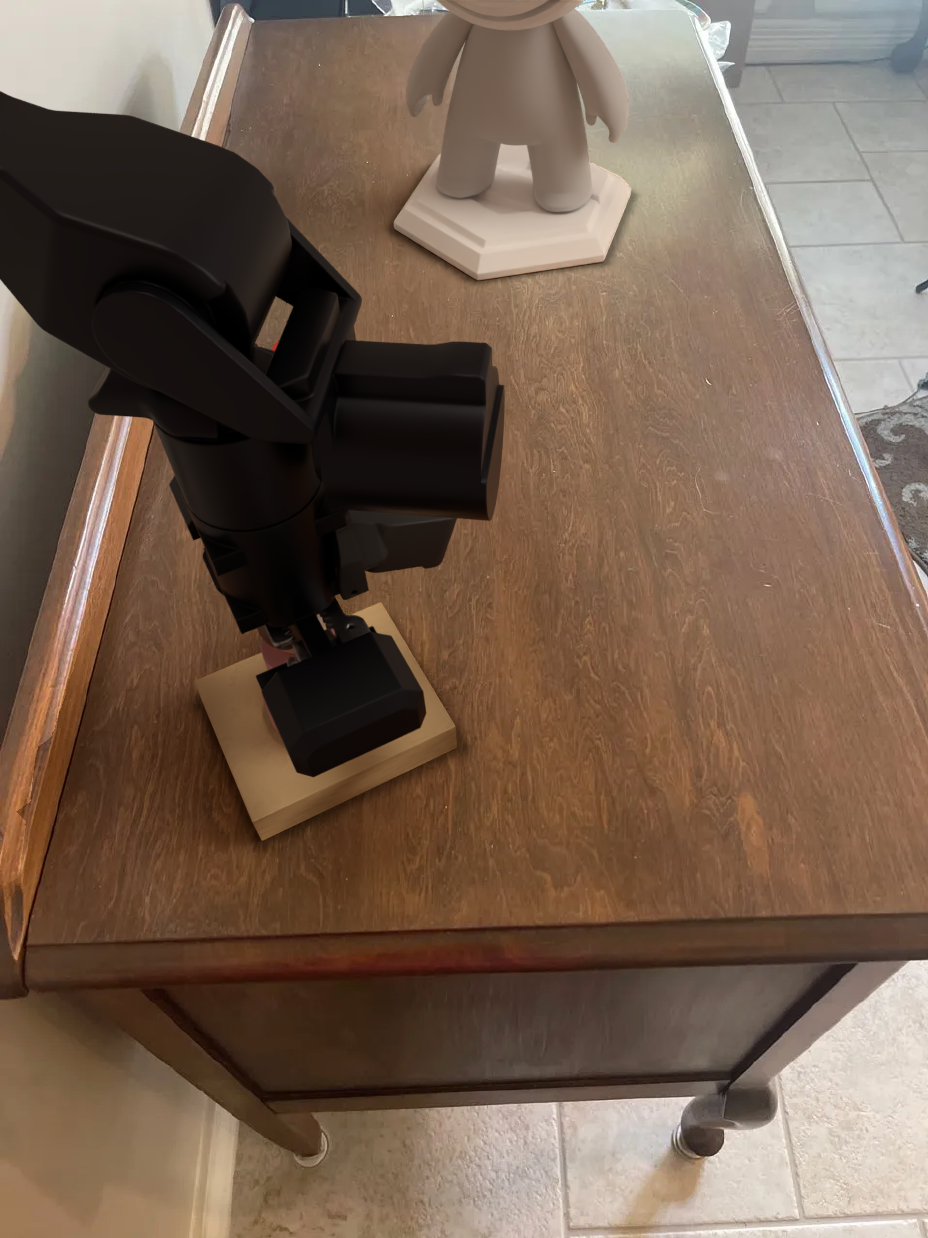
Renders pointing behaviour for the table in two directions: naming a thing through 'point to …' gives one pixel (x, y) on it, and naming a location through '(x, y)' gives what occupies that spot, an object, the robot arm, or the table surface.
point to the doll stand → (265, 761)
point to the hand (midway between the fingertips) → (317, 683)
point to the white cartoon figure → (517, 139)
